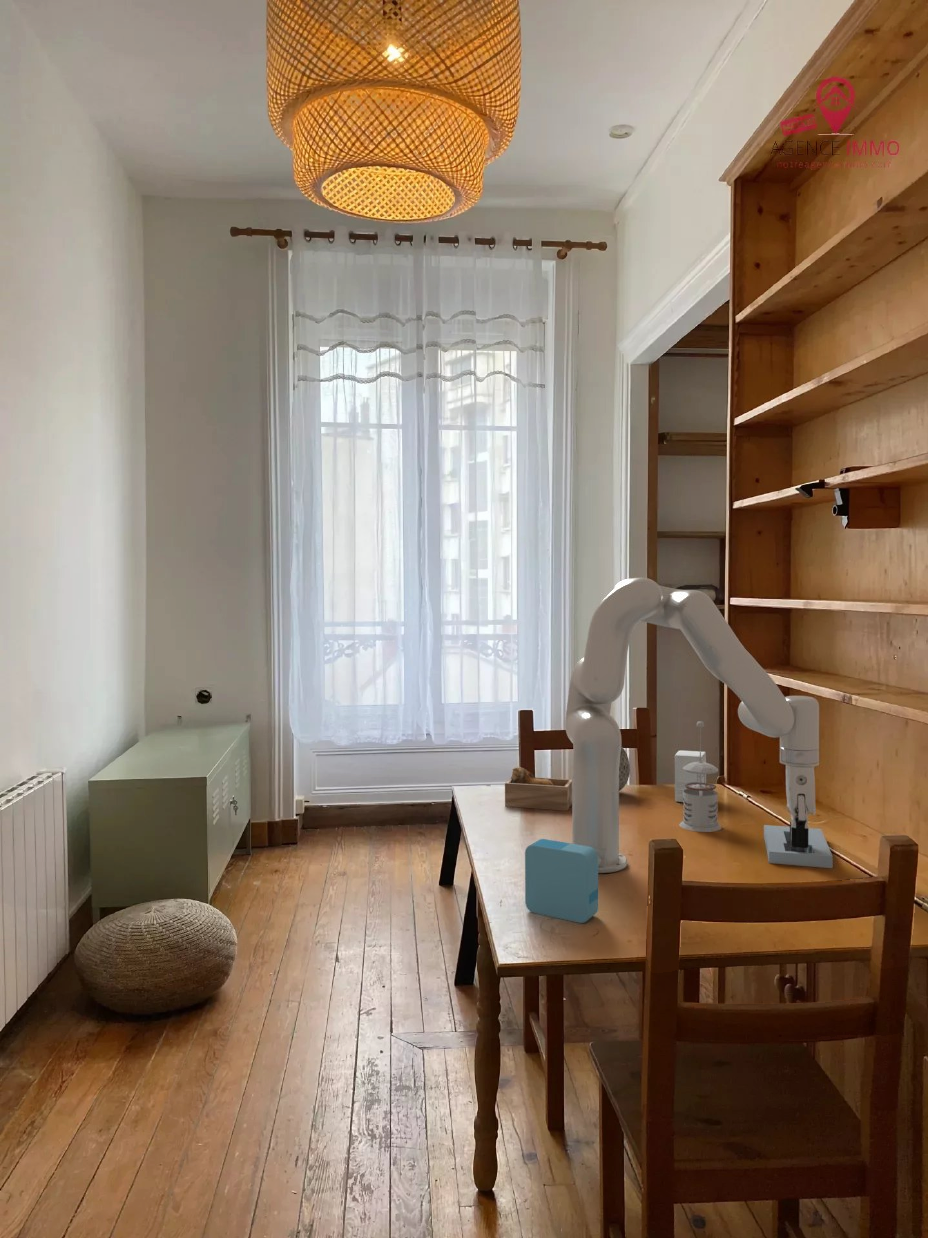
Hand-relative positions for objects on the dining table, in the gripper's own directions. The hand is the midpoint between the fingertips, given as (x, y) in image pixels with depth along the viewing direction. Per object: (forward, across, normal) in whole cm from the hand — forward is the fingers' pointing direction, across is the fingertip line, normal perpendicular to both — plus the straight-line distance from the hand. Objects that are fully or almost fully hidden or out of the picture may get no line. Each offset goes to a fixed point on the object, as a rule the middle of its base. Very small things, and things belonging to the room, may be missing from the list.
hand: (798, 843), depth 172 cm
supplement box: (+4, +45, +23) cm, 51 cm away
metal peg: (+2, 0, 0) cm, 2 cm away
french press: (+4, +21, +20) cm, 29 cm away
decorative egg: (+4, +46, +45) cm, 65 cm away
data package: (+3, -42, +42) cm, 60 cm away
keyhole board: (+3, +6, 0) cm, 7 cm away
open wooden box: (+3, +30, +61) cm, 68 cm away
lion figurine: (+3, +30, +62) cm, 69 cm away
